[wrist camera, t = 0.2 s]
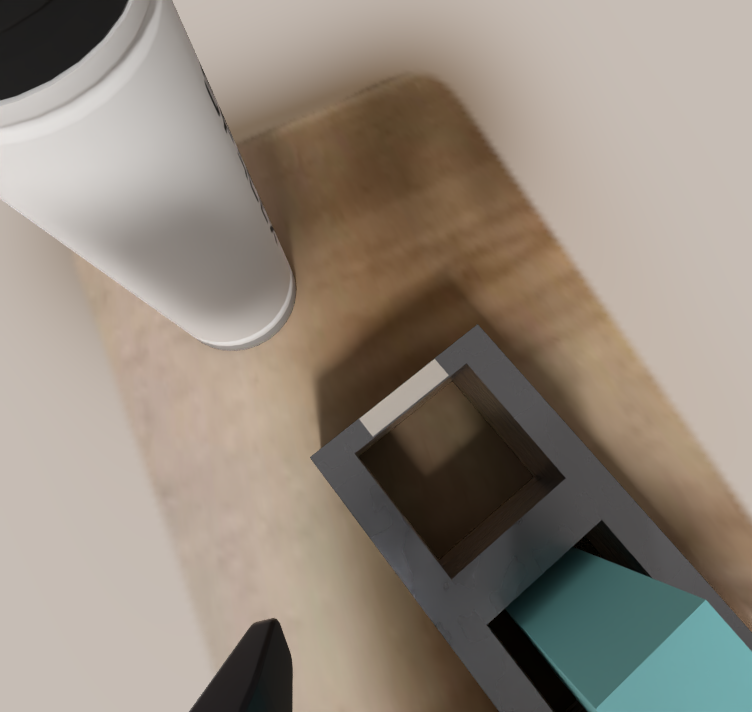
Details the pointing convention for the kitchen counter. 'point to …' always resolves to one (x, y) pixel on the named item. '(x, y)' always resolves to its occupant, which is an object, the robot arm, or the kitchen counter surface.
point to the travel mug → (137, 164)
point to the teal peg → (632, 640)
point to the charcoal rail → (503, 516)
